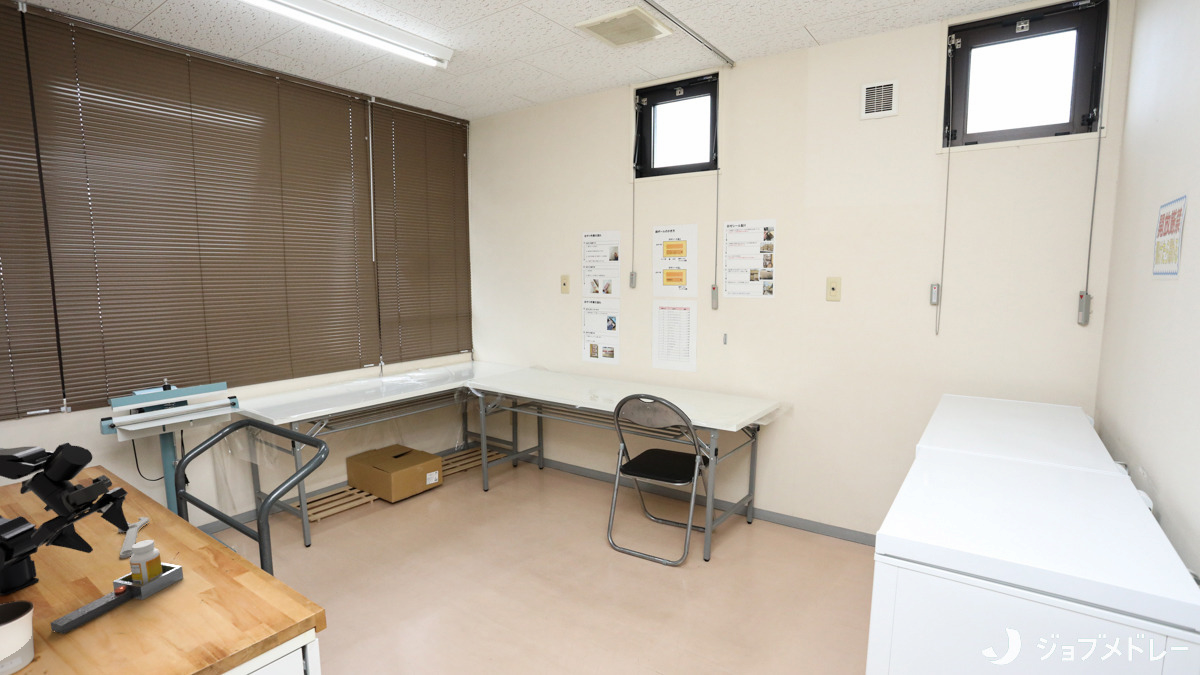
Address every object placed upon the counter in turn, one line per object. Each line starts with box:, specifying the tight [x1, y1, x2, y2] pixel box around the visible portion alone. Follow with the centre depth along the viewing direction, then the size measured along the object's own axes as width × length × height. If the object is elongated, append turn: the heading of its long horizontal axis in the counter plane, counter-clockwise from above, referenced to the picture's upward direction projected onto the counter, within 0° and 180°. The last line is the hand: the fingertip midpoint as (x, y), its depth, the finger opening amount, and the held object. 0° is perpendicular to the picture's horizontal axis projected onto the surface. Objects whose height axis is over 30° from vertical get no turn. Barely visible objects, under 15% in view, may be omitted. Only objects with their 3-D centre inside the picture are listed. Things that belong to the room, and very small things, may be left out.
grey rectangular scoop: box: [50, 561, 184, 635], centre depth 124 cm, size 22×9×3 cm, turn 162°
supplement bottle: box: [129, 539, 163, 585], centre depth 129 cm, size 5×5×10 cm
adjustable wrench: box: [117, 516, 150, 559], centre depth 153 cm, size 25×6×2 cm, turn 30°
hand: (110, 540), depth 130 cm, fingers open, 9 cm apart
